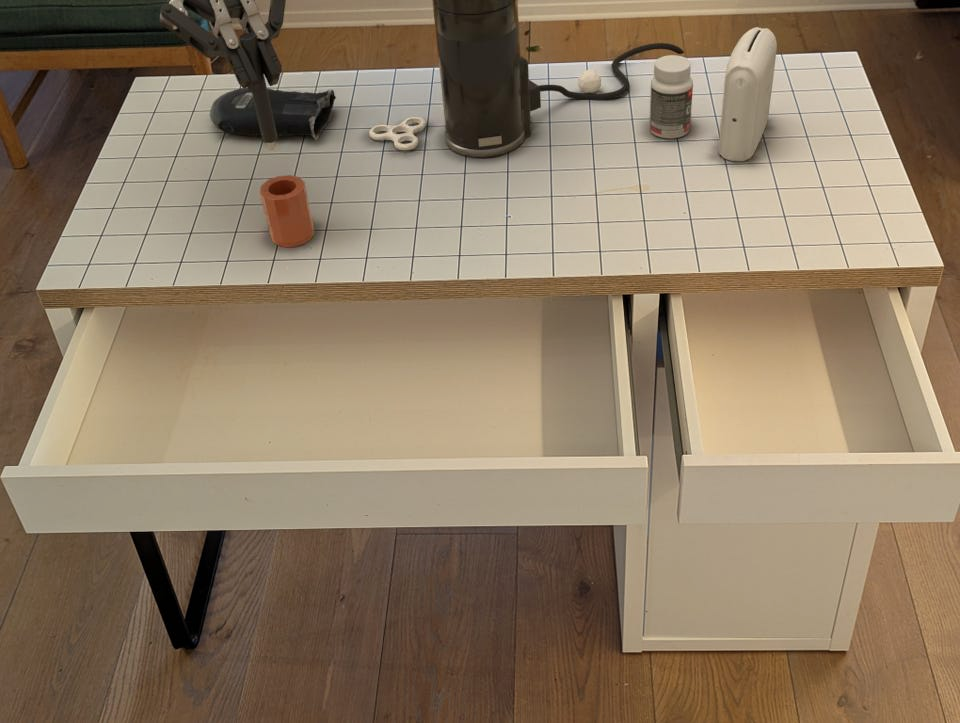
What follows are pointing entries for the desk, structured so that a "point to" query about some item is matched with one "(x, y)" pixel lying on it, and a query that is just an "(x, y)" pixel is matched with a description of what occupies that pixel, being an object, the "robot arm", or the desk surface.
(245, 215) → the desk surface
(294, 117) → the electronic device
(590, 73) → the polyhedron
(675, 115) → the pill bottle
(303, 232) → the pen holder
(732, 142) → the photo printer
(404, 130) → the fidget spinner
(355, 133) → the desk surface
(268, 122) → the dark grey rod
